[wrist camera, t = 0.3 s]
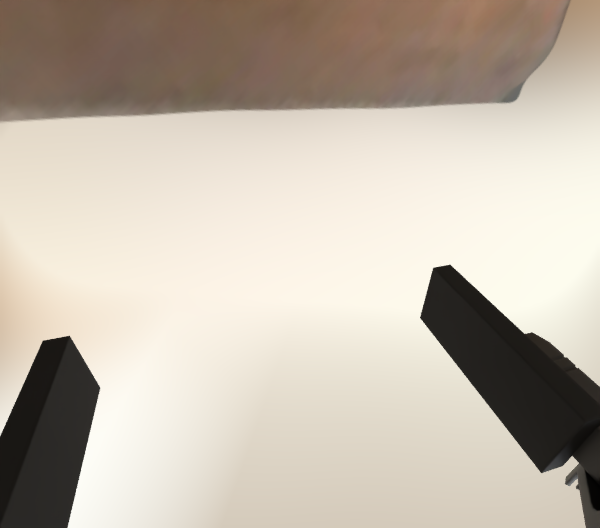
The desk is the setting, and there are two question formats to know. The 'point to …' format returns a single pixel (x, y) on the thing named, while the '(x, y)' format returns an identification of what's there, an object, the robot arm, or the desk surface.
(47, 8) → the desk surface
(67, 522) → the robot arm
